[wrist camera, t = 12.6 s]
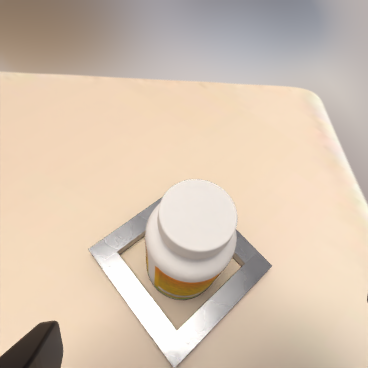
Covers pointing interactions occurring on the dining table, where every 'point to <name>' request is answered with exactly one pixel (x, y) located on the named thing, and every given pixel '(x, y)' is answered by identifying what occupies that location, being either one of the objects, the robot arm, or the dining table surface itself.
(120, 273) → the frame
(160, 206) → the supplement bottle
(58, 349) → the robot arm
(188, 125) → the dining table surface
